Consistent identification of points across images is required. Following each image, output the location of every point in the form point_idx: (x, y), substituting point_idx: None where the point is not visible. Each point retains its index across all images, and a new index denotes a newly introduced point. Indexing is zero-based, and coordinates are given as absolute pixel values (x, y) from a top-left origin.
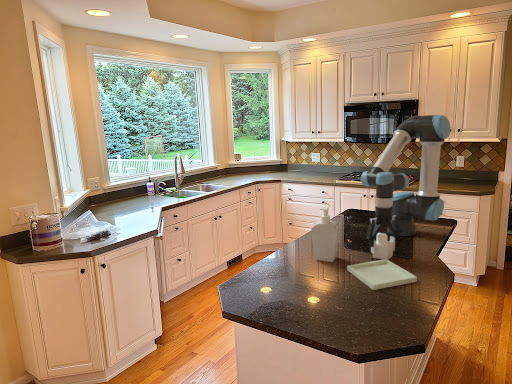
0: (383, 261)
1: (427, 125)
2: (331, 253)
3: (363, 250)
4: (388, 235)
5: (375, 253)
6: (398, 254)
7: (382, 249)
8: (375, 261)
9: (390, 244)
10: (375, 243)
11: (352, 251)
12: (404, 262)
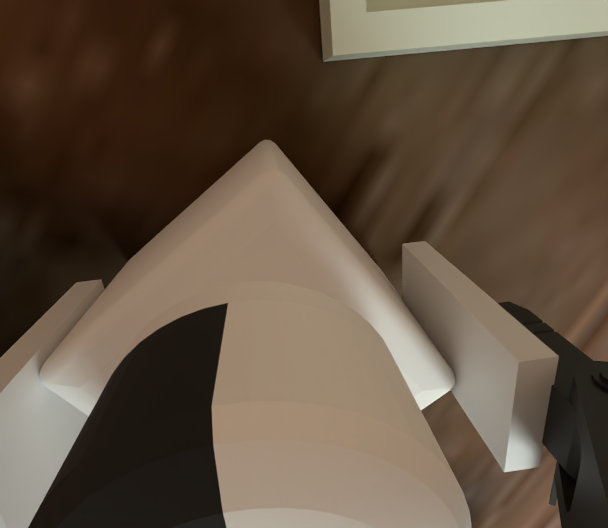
0: (405, 10)
1: None
2: None
3: None
4: (148, 446)
5: (407, 246)
6: (33, 288)
7: (336, 226)
8: (539, 15)
9: (148, 275)
10: (493, 322)
11: (471, 452)
12: (54, 3)
